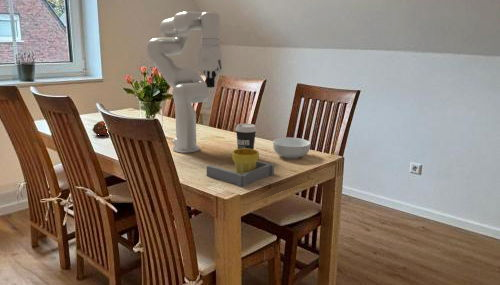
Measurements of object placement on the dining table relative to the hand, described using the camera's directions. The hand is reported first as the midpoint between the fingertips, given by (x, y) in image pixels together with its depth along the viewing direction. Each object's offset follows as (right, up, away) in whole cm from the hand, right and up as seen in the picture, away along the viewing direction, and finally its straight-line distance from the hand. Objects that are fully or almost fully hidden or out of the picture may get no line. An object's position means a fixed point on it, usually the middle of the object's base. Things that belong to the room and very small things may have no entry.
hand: (210, 87), depth 187 cm
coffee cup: (+15, -31, +11) cm, 36 cm away
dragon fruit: (-63, -20, +49) cm, 82 cm away
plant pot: (+15, -37, -13) cm, 42 cm away
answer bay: (+12, -36, -12) cm, 40 cm away
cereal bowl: (+36, -30, +15) cm, 49 cm away
